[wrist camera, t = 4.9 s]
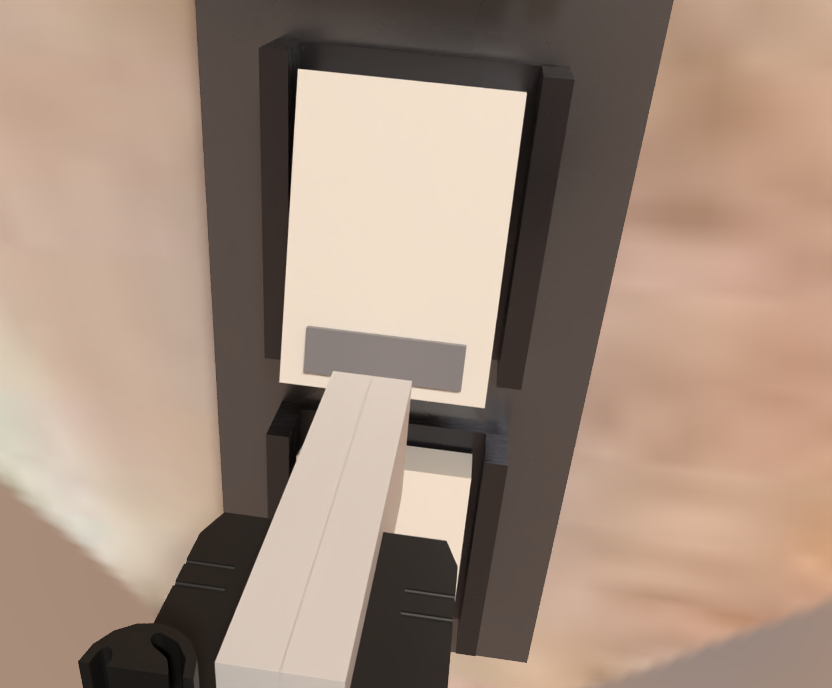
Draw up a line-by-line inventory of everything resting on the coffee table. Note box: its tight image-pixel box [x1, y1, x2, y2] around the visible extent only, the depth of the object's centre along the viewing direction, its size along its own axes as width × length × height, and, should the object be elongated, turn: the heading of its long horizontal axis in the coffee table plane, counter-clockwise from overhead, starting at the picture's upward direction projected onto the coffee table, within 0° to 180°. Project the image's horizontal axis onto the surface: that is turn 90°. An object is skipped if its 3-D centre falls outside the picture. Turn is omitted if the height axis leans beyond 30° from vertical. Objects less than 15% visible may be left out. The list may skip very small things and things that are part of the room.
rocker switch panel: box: [195, 0, 674, 663], centre depth 19 cm, size 30×10×6 cm, turn 175°
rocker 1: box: [279, 69, 527, 408], centre depth 17 cm, size 6×4×2 cm
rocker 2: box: [296, 446, 472, 597], centre depth 21 cm, size 6×4×2 cm
